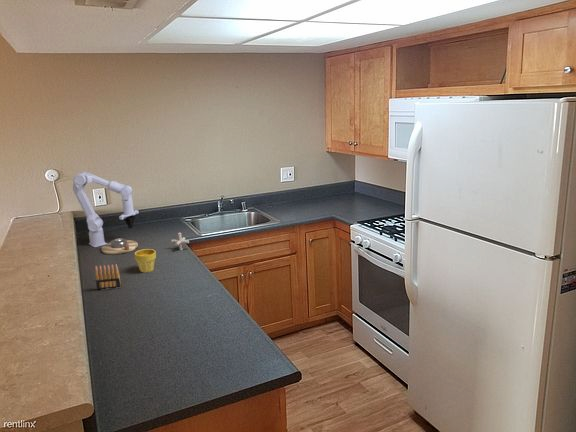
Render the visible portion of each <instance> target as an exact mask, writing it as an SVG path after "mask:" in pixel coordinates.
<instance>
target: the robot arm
mask: <svg viewBox="0 0 576 432" xmlns="http://www.w3.org/2000/svg"><path fill="white" fill-rule="evenodd" d="M72 182H73V184H72V191H73V193H74V195H75V197H76V199H77V202H78V203H79V205H80V207H81V209H82V211H83V212H84V213H83V214H84V215H85V217H86V224H87V229H88V230H89V231H88V236H89V237H88V238H89V243H88V245H90V246H91V247H93V248H97V247H98V248H99V247H102V246H104V245H105V244H108V242H105V235H104V228H103V225H104V221H103V219H102V218H101V217H100V216H99V215H98V214H97V213H96V212H95V210H94V208H93V206H92V204H91V202H90V199H89V198H88V195H87V194H86V192H85V187H86V185H87V184H92V183H95V184H97V185H100V186H104V187H107V189H108V190H109V191H111V192H114V193H116V194H120V196H121V198H122V199H121V201H122V207H123V213H122V214H121V215H118V217H119V220H122V221H123V220H124V222H125V223H126V225H127V226H128V229H133V228H134V224H135V223H134V222H135V220H136V218H137V217H136V215H138V214H139V213H140V212H139V210H138V209H135V210H134V201H133V195H132V193H133V188H132V187H131V186H130V185H128V184H126V185H125V184H123V183H120V182H118V181H117V180H111V181H110V180H107V179H105V178H102V177H100V176H97V175H95V174H93V173H92V172H91V173H90V172H89V171H84V170H83V171H82V172H80V173H78V174H76V175H75V176H74V177H73V179H72Z"/></svg>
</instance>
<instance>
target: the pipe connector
mask: <svg viewBox="0 0 576 432" xmlns="http://www.w3.org/2000/svg"><path fill="white" fill-rule="evenodd" d="M177 237H178V239H171V243H173V244H174V243H175V244H174V245H175V246H176V247H177V246H178V247H179V248H178V249H179V251H183V250H184V249H183V248H184V247H183V244H189V243H190V240H188V239H186V237H184V236H183V237H182V232H178V233H177Z"/></svg>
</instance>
